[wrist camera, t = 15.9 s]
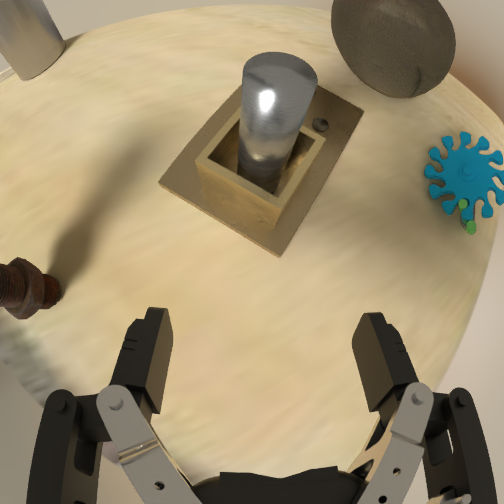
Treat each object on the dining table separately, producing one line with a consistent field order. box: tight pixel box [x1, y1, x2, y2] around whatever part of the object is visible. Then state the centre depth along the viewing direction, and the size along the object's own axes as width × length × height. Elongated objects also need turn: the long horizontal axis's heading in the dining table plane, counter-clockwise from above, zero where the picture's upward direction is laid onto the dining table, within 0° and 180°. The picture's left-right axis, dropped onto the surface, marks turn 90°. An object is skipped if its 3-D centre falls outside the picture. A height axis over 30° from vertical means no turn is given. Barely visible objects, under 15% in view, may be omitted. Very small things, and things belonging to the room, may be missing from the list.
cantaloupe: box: [331, 0, 456, 98], centre depth 20 cm, size 14×14×15 cm
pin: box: [237, 52, 318, 193], centre depth 17 cm, size 4×4×12 cm
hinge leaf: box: [158, 85, 364, 258], centre depth 22 cm, size 12×18×5 cm, turn 148°
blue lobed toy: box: [424, 132, 504, 234], centre depth 23 cm, size 11×6×10 cm
